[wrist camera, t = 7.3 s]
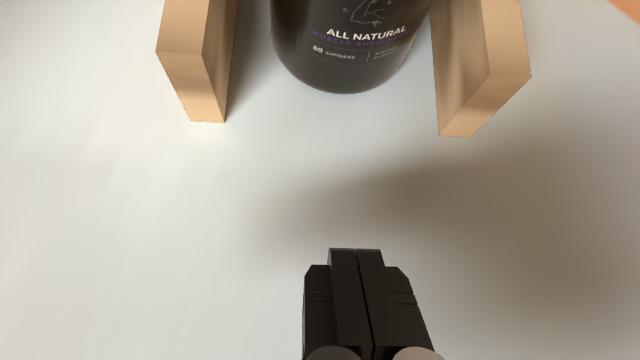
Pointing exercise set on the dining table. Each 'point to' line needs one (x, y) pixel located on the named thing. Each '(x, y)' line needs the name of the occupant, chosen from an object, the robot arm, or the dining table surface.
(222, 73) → the frame
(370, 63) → the supplement bottle
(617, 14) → the dining table surface
